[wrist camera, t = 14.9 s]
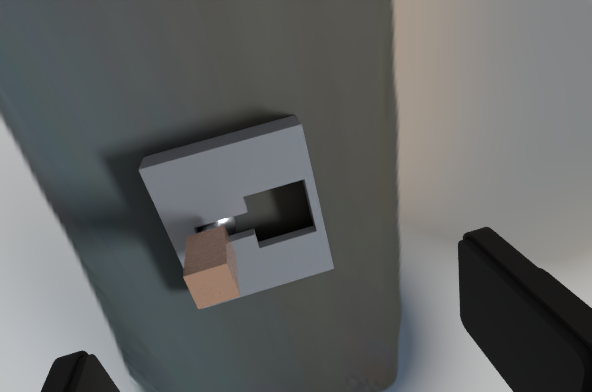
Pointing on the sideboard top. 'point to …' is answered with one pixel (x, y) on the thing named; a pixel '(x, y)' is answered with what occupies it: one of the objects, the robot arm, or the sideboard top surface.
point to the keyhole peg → (211, 264)
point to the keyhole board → (241, 198)
